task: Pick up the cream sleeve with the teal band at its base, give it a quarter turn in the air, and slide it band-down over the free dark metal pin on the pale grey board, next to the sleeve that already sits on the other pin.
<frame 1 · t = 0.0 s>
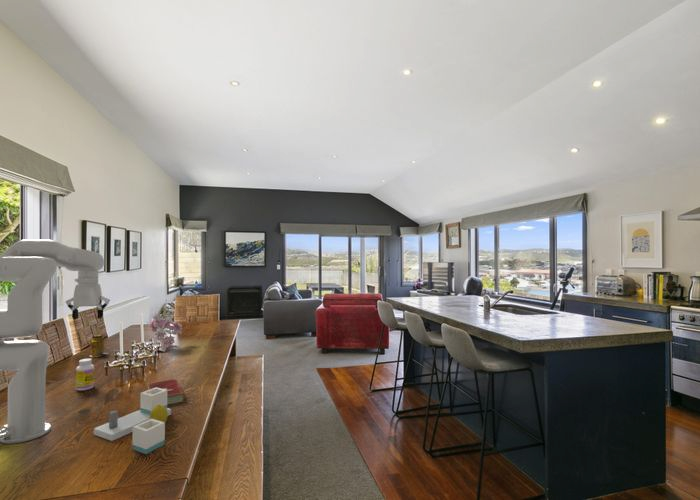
hand: (87, 318, 166), 31 cm above the table, tool pointing down, fingers open, 9 cm apart
seated sleeve: (153, 410, 137), point 2 cm above the table, touching pin board
supplement bottle: (84, 388, 164), on the table
condiment: (99, 355, 218), on the table
hardcover book: (164, 397, 156), on the table
lemon: (158, 428, 127), on the table
flower: (165, 348, 233), on the table
sleeve: (148, 446, 115), on the table
pin board: (134, 423, 130), on the table
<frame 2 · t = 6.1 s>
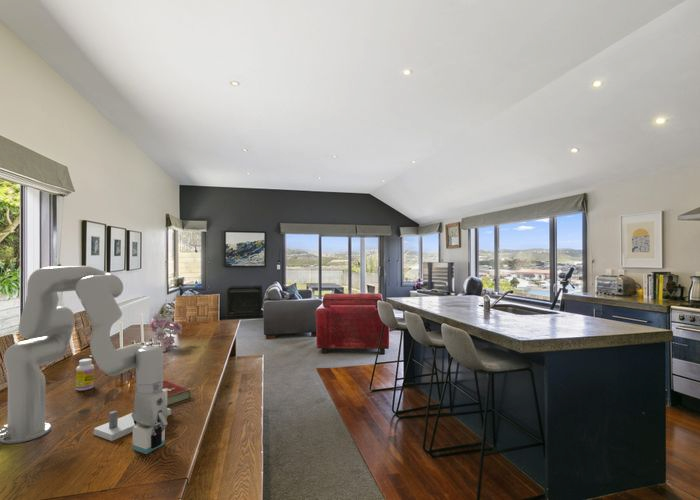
hand: (148, 443, 115), 1 cm above the table, tool pointing down, fingers closed on sleeve, 6 cm apart
sleeve: (148, 446, 115), on the table, touching gripper
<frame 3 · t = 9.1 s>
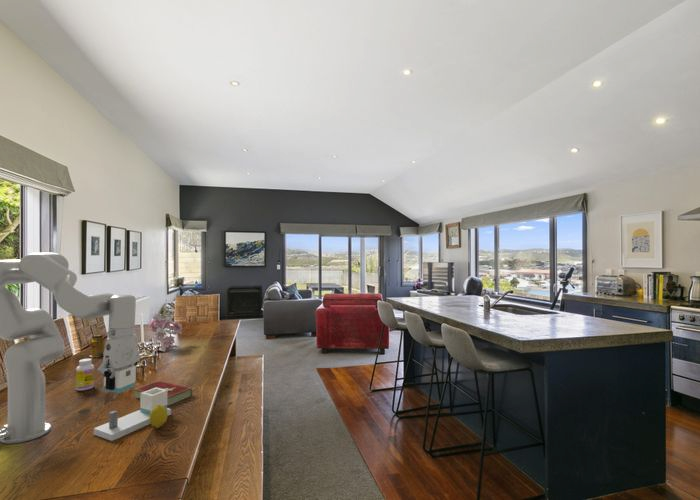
hand: (119, 385, 122), 17 cm above the table, tool pointing down, fingers closed on sleeve, 6 cm apart
sleeve: (119, 388, 122), point 16 cm above the table, touching gripper
when the fingers open (5 cm above the table, at t = 12.4 s): sleeve drops 1 cm, resting on pin board.
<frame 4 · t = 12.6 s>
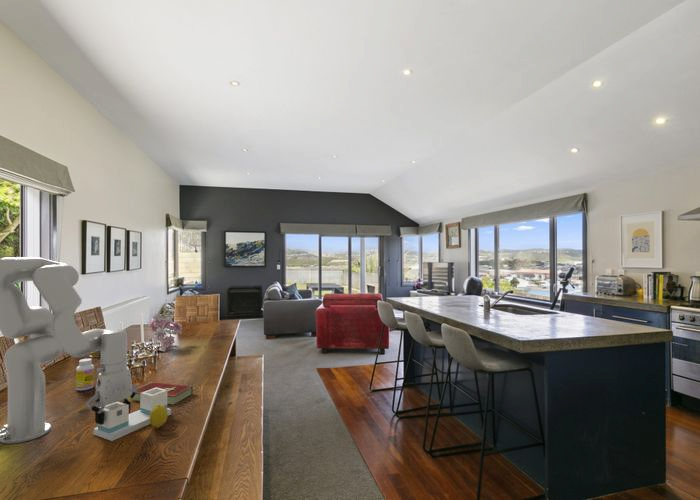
hand: (113, 418, 123), 5 cm above the table, tool pointing down, fingers open, 8 cm apart
sleeve: (113, 427, 123), point 2 cm above the table, touching pin board
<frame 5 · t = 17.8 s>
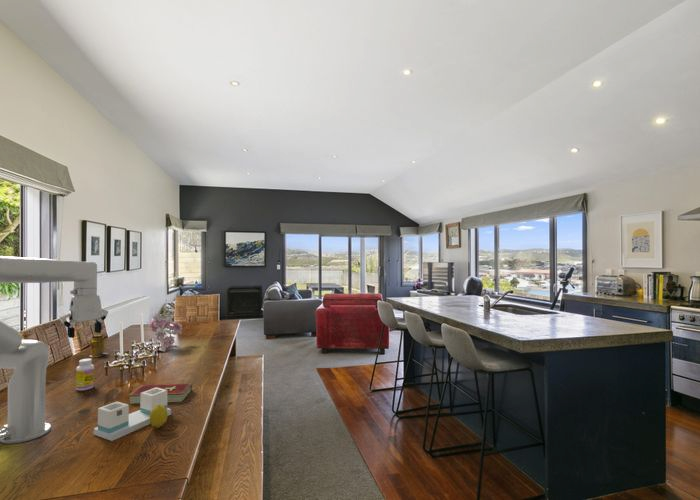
hand: (84, 334, 146), 28 cm above the table, tool pointing down, fingers open, 9 cm apart
at the end: sleeve 0.0 cm from the target spot on the pin board, point 2.0 cm above the pin board's base; sleeve tilted 0°; seated sleeve moved 0.0 cm from its start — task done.
